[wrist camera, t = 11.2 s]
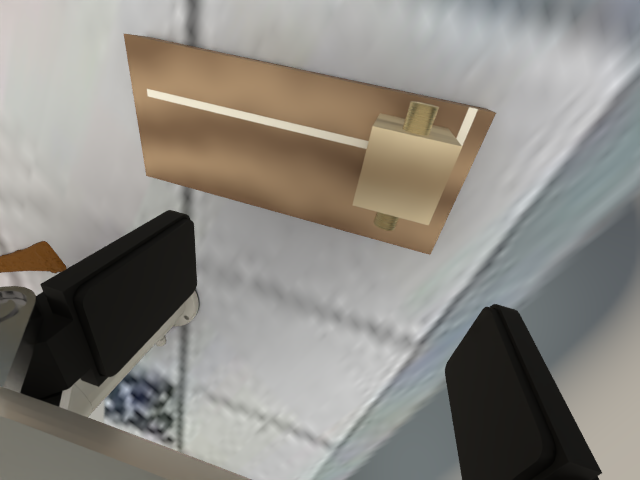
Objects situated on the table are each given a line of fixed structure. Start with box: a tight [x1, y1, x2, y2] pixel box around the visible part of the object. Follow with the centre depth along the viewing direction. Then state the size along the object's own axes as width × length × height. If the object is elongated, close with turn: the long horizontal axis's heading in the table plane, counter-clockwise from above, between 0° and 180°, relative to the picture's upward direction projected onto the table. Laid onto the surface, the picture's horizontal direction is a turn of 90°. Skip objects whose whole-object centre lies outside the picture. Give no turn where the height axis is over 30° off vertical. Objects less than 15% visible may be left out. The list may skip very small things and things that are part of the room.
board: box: [124, 34, 496, 254], centre depth 26 cm, size 12×29×3 cm, turn 80°
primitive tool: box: [0, 241, 66, 273], centre depth 47 cm, size 19×6×4 cm, turn 107°
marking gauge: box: [353, 101, 462, 231], centre depth 20 cm, size 8×5×6 cm, turn 170°
